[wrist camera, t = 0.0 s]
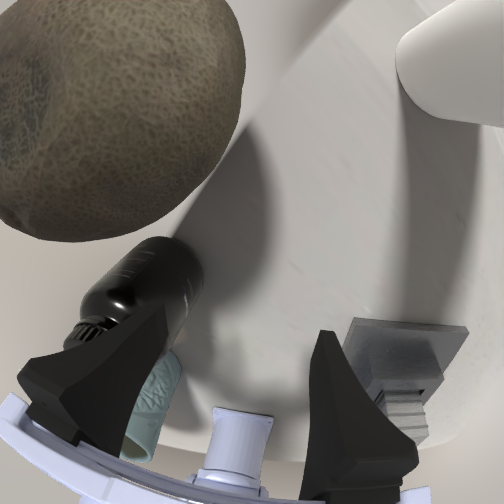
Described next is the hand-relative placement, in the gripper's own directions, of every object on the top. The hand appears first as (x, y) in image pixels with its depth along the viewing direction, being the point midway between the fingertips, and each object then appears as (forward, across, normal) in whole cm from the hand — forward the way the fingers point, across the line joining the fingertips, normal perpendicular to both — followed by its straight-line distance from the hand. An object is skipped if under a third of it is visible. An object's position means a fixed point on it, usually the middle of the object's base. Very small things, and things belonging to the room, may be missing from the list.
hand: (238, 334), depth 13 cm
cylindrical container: (+10, -11, -15) cm, 21 cm away
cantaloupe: (+10, +8, -10) cm, 16 cm away
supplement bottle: (+10, +8, +4) cm, 14 cm away
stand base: (+10, -15, +14) cm, 23 cm away
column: (+9, -15, +14) cm, 22 cm away
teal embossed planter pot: (+10, +12, +17) cm, 23 cm away
